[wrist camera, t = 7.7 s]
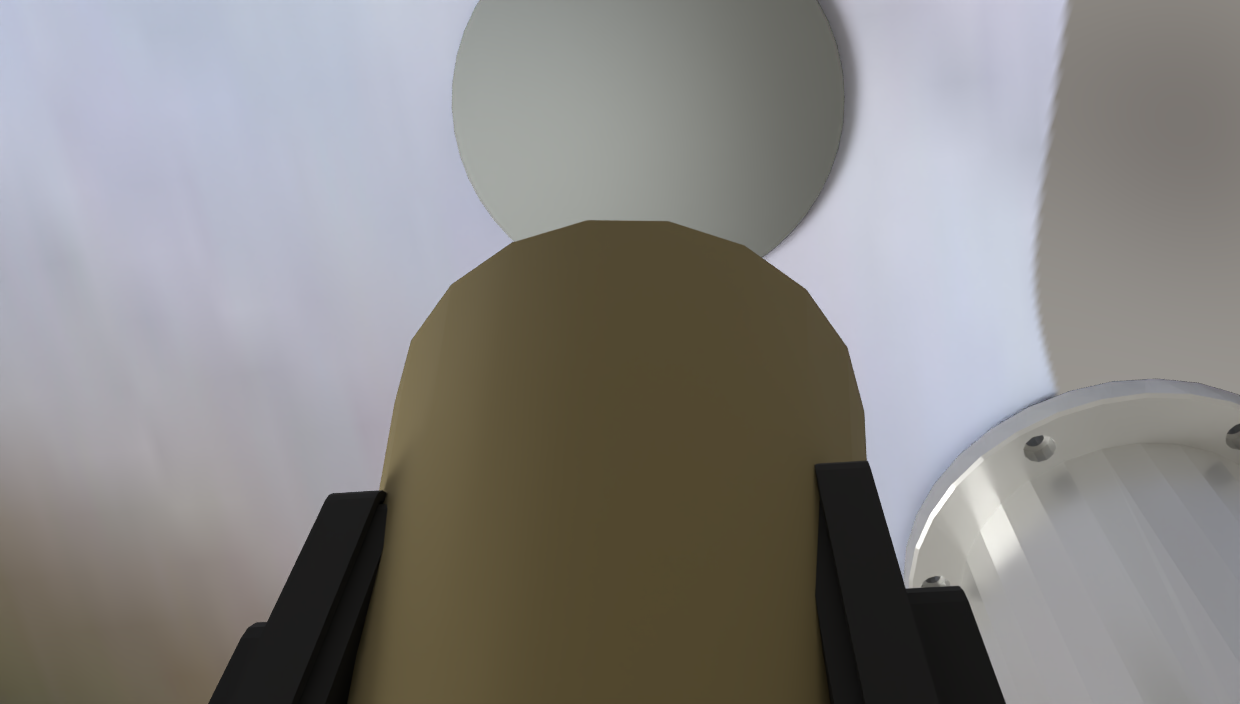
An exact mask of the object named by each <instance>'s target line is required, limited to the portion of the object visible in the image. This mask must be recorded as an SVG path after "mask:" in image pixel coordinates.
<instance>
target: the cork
mask: <svg viewBox="0 0 1240 704" xmlns="http://www.w3.org/2000/svg"><path fill="white" fill-rule="evenodd" d="M851 461H867V458H866V438H865V418H864V409H863V405H862V401H861V398H860V394H859V390H858V386H857V382H856V379H855V375H854V371H853V367H852V363H851V360H850V356H849V352H848V348H847V346H846V345H845V344H844V342H843V341H842V339H841V338H840V336H839V335H838V334H837V332H836V331H835V329H834V328H833V327H832V325H831V324H830V322H829V321H828V320H827V318H826V317H825V315H824V314H823V312H822V311H821V310H820V308H819V307H818V305H817V304H816V303H815V301H814V300H813V298H812V297H811V296H810V294H809V293H808V291H807V290H806V289H805V288H803V287H802V286H801V285H799V284H798V283H796V282H795V281H794V280H792V279H791V278H789V277H788V276H787V275H785V274H784V273H782V272H781V271H780V270H778V269H777V268H775V267H774V266H773V265H771V264H770V263H768V262H767V261H766V260H764V259H763V258H761V257H760V256H759V255H757V254H756V253H754V252H753V251H752V250H750V249H749V248H747V247H746V246H745V245H742V244H738V243H735V242H732V241H729V240H726V239H723V238H720V237H717V236H713V235H710V234H707V233H704V232H701V231H698V230H695V229H692V228H688V227H685V226H682V225H679V224H676V223H673V222H670V221H620V220H586V221H583V222H579V223H576V224H573V225H569V226H566V227H563V228H559V229H556V230H553V231H549V232H546V233H542V234H539V235H536V236H532V237H529V238H526V239H522V240H519V241H516V242H512V243H511V244H509V245H508V246H506V247H505V248H503V249H502V250H501V251H499V252H498V253H496V254H495V255H493V256H492V257H491V258H489V259H488V260H486V261H485V262H483V263H482V264H480V265H479V266H478V267H476V268H475V269H473V270H472V271H470V272H469V273H467V274H466V275H465V276H463V277H462V278H460V279H459V280H457V281H456V282H454V283H453V284H452V285H451V286H450V287H449V289H448V290H447V291H446V293H445V294H444V296H443V297H442V298H441V300H440V301H439V302H438V304H437V305H436V307H435V308H434V309H433V311H432V312H431V314H430V315H429V316H428V318H427V319H426V321H425V322H424V323H423V325H422V326H421V328H420V329H419V330H418V332H417V333H416V335H415V336H414V337H413V339H412V340H411V343H410V347H409V351H408V354H407V358H406V362H405V366H404V369H403V373H402V377H401V381H400V385H399V388H398V392H397V396H396V400H395V404H394V409H393V415H392V421H391V426H390V432H389V438H388V443H387V449H386V455H385V460H384V466H383V472H382V477H381V483H380V489H379V491H380V490H383V491H385V492H386V497H385V501H384V502H383V504H386V505H387V518H386V527H385V537H384V546H383V551H382V555H381V559H380V563H379V567H378V571H377V575H376V579H375V583H374V587H373V591H372V595H371V599H370V603H369V607H368V611H367V615H366V619H365V623H364V627H363V631H362V635H361V639H360V643H359V647H358V651H357V655H356V660H355V665H354V670H353V675H352V680H351V685H350V691H349V696H348V701H347V704H830V697H829V690H828V683H827V676H826V669H825V662H824V655H823V648H822V641H821V634H820V627H819V620H818V613H817V606H816V599H815V587H816V565H817V544H818V523H819V501H820V495H819V490H818V484H817V478H816V472H815V465H816V464H818V463H834V462H851Z"/></svg>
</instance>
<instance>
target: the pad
mask: <svg viewBox="0 0 1240 704" xmlns="http://www.w3.org/2000/svg"><path fill="white" fill-rule="evenodd" d="M844 99H845V97H844V84H843V71H842V67H841V62H840V57H839V53H838V48H837V45H836V42H835V39H834V36H833V33H832V31H831V28H830V25H829V22H828V20H827V18H826V16H825V15H824V13H823V11H822V9H821V7H820V5H819V3H818V1H817V0H480V1H479V2H478V4H477V5H476V7H475V9H474V11H473V13H472V15H471V18H470V20H469V22H468V24H467V26H466V28H465V31H464V34H463V37H462V40H461V44H460V47H459V50H458V53H457V57H456V63H455V69H454V76H453V84H452V113H453V123H454V132H455V136H456V141H457V145H458V149H459V153H460V157H461V160H462V162H463V165H464V168H465V170H466V173H467V176H468V178H469V180H470V182H471V184H472V186H473V188H474V190H475V192H476V194H477V195H478V197H479V199H480V201H481V202H482V204H483V205H484V207H485V208H486V209H487V211H488V212H489V214H490V215H491V217H492V218H493V219H494V221H495V222H496V223H497V224H498V225H499V226H500V227H501V228H502V230H503V231H504V232H505V233H506V234H507V235H508V236H509V237H510V238H511V239H512V240H513V241H514V242H516V241H519V240H522V239H526V238H529V237H532V236H536V235H539V234H542V233H546V232H549V231H553V230H556V229H559V228H563V227H566V226H569V225H573V224H576V223H579V222H583V221H586V220H620V221H670V222H673V223H676V224H679V225H682V226H685V227H688V228H692V229H695V230H698V231H701V232H704V233H707V234H710V235H713V236H717V237H720V238H723V239H726V240H729V241H732V242H735V243H738V244H742V245H745V246H746V247H747V248H749V249H750V250H752V251H753V252H754V253H756V254H757V255H759V256H760V257H761V258H762V257H763V256H765V255H766V254H767V253H769V252H770V251H772V250H773V249H774V248H775V247H776V246H777V245H778V244H779V243H781V242H782V241H783V240H784V239H785V238H786V237H787V236H788V235H789V234H790V233H791V232H792V231H793V230H794V229H795V227H796V226H797V225H798V224H799V223H800V222H801V220H802V219H803V218H804V217H805V216H806V214H807V213H808V211H809V210H810V208H811V207H812V205H813V204H814V202H815V200H816V199H817V197H818V196H819V194H820V192H821V190H822V188H823V186H824V184H825V182H826V180H827V178H828V176H829V174H830V171H831V168H832V165H833V162H834V159H835V156H836V153H837V150H838V147H839V142H840V137H841V131H842V126H843V116H844Z"/></svg>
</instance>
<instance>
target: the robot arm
mask: <svg viewBox="0 0 1240 704" xmlns="http://www.w3.org/2000/svg"><path fill="white" fill-rule="evenodd" d="M815 472H816V478H817V484H818V490H819V495H820V501H819V523H818V544H817V565H816V587H815V599H816V606H817V613H818V620H819V627H820V634H821V641H822V648H823V655H824V662H825V669H826V676H827V683H828V690H829V697H830V704H1240V395H1238V394H1235V393H1232V392H1228V391H1225V390H1222V389H1218V388H1215V387H1211V386H1207V385H1204V384H1200V383H1195V382H1185V381H1175V380H1164V379H1143V380H1129V381H1112V382H1108V383H1104V384H1099V385H1095V386H1090V387H1086V388H1081V389H1077V390H1072V391H1068V392H1066V393H1063V394H1061V395H1058V396H1056V397H1053V398H1051V399H1048V400H1045V401H1043V402H1040V403H1038V404H1035V405H1033V406H1030V407H1028V408H1026V409H1024V410H1022V411H1021V412H1019V413H1017V414H1016V415H1014V416H1012V417H1010V418H1009V419H1007V420H1005V421H1004V422H1002V423H1000V424H998V425H997V426H995V427H993V428H992V429H990V430H989V431H988V432H986V433H985V434H984V435H983V436H982V437H980V438H979V439H978V440H977V441H976V442H974V443H973V444H972V445H971V446H969V447H968V448H967V449H966V450H965V451H963V452H962V453H961V454H960V455H959V456H958V457H957V458H956V459H955V460H954V462H953V463H952V464H951V465H950V466H949V467H948V469H947V470H946V471H945V472H944V473H943V474H942V476H941V477H940V478H939V479H938V480H937V481H936V482H935V484H934V485H933V487H932V489H931V490H930V492H929V494H928V496H927V497H926V499H925V501H924V503H923V504H922V506H921V508H920V510H919V511H918V513H917V515H916V517H915V521H914V524H913V527H912V530H911V533H910V536H909V539H908V542H907V546H906V554H905V566H904V581H903V578H902V575H901V571H900V568H899V564H898V561H897V557H896V554H895V551H894V547H893V544H892V540H891V537H890V534H889V530H888V527H887V523H886V520H885V516H884V513H883V510H882V506H881V503H880V499H879V496H878V492H877V489H876V486H875V482H874V479H873V475H872V472H871V469H870V466H869V463H868V461H851V462H834V463H818V464H816V465H815ZM385 497H386V492H385V491H383V490H380V491H363V492H347V493H333V494H330V495H329V496H328V497H327V499H326V500H325V502H324V504H323V506H322V508H321V510H320V512H319V515H318V517H317V519H316V521H315V523H314V525H313V527H312V529H311V531H310V533H309V536H308V538H307V540H306V542H305V544H304V546H303V548H302V550H301V552H300V554H299V556H298V559H297V561H296V563H295V565H294V567H293V569H292V571H291V573H290V575H289V577H288V580H287V582H286V584H285V586H284V588H283V590H282V592H281V594H280V596H279V598H278V601H277V603H276V605H275V607H274V609H273V611H272V613H271V615H270V617H269V619H268V621H267V622H257V623H255V624H253V625H251V626H250V627H248V629H247V630H246V632H245V633H244V635H243V636H242V637H241V639H240V641H239V643H238V645H237V647H236V649H235V651H234V653H233V655H232V657H231V659H230V661H229V663H228V665H227V667H226V669H225V671H224V673H223V675H222V677H221V679H220V681H219V683H218V685H217V687H216V689H215V691H214V693H213V695H212V697H211V699H210V701H209V703H208V704H347V701H348V696H349V691H350V685H351V680H352V675H353V670H354V665H355V660H356V655H357V651H358V647H359V643H360V639H361V635H362V631H363V627H364V623H365V619H366V615H367V611H368V607H369V603H370V599H371V595H372V591H373V587H374V583H375V579H376V575H377V571H378V567H379V563H380V559H381V555H382V551H383V546H384V537H385V527H386V518H387V505H386V504H383V502H384V501H385ZM904 584H905V585H904Z"/></svg>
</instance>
